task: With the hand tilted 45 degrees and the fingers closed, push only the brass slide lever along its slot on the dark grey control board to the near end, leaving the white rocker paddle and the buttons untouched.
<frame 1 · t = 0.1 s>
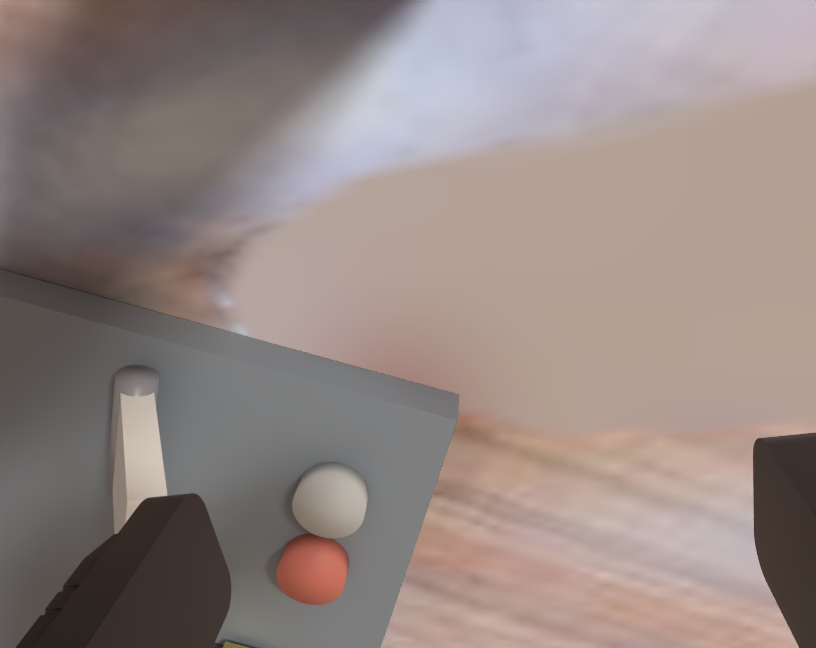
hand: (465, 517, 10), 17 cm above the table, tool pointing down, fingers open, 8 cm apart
rocker paddle: (135, 481, 26), point 6 cm above the table, hinge at -28.0°
control board: (195, 542, 34), on the table
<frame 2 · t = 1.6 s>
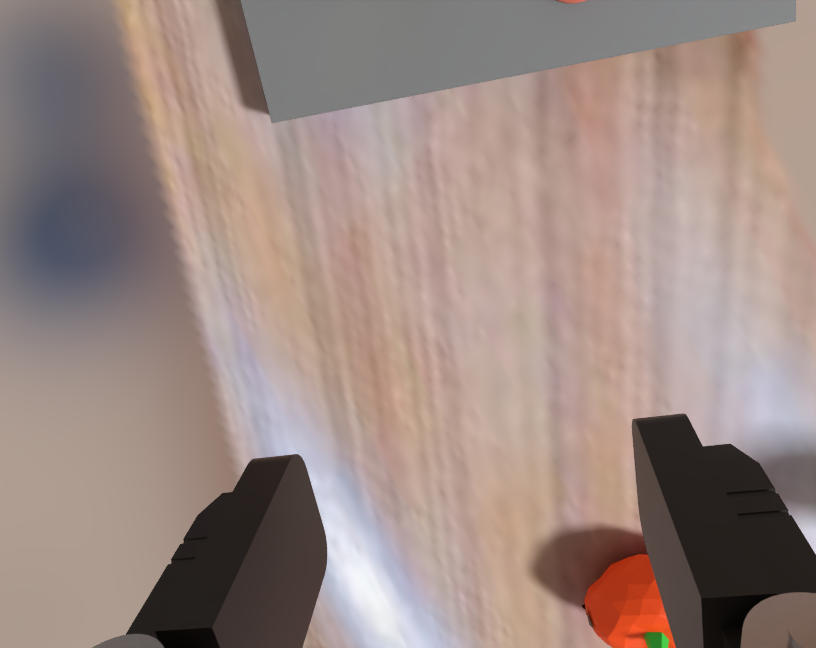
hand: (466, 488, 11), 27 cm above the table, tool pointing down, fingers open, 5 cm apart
pumpkin: (646, 577, 45), on the table
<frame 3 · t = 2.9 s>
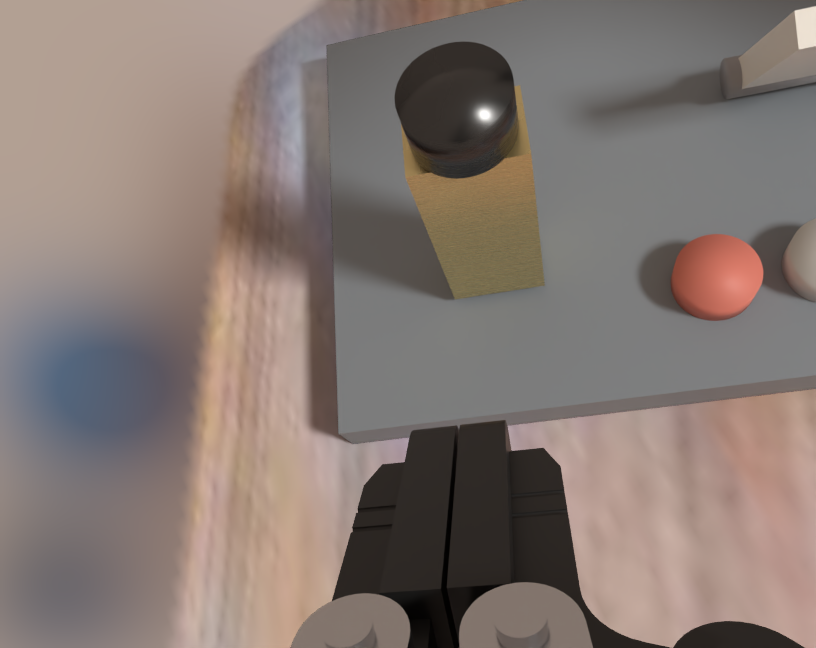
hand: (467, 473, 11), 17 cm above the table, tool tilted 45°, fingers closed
slide lever: (478, 196, 23), point 8 cm above the table, slide at 0.0 cm
control board: (602, 191, 31), on the table
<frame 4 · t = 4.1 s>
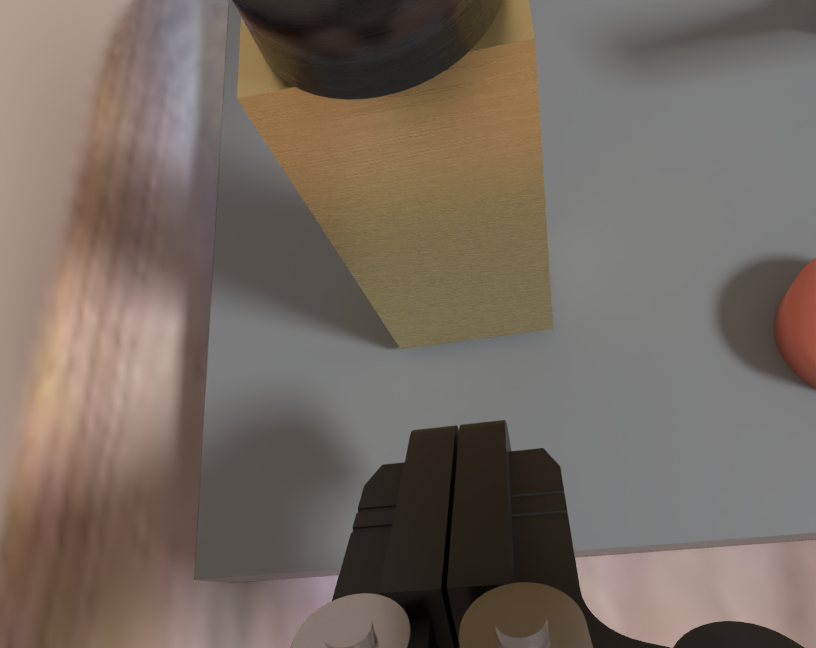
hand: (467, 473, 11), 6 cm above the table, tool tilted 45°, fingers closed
slide lever: (429, 162, 12), point 8 cm above the table, slide at 0.0 cm
control board: (644, 175, 20), on the table
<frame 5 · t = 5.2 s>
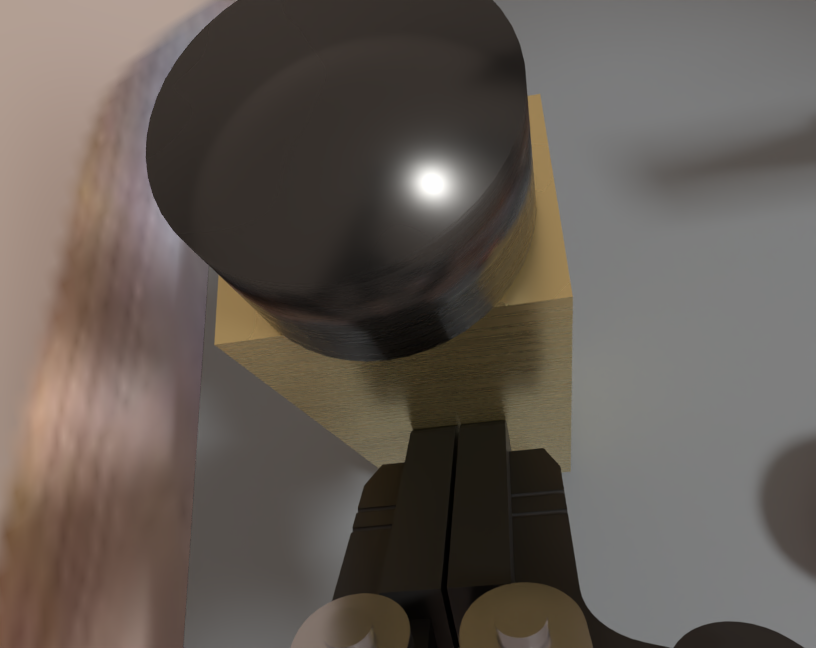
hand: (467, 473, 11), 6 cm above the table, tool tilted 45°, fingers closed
slide lever: (438, 338, 11), point 8 cm above the table, slide at 0.9 cm, touching gripper
control board: (672, 309, 18), on the table
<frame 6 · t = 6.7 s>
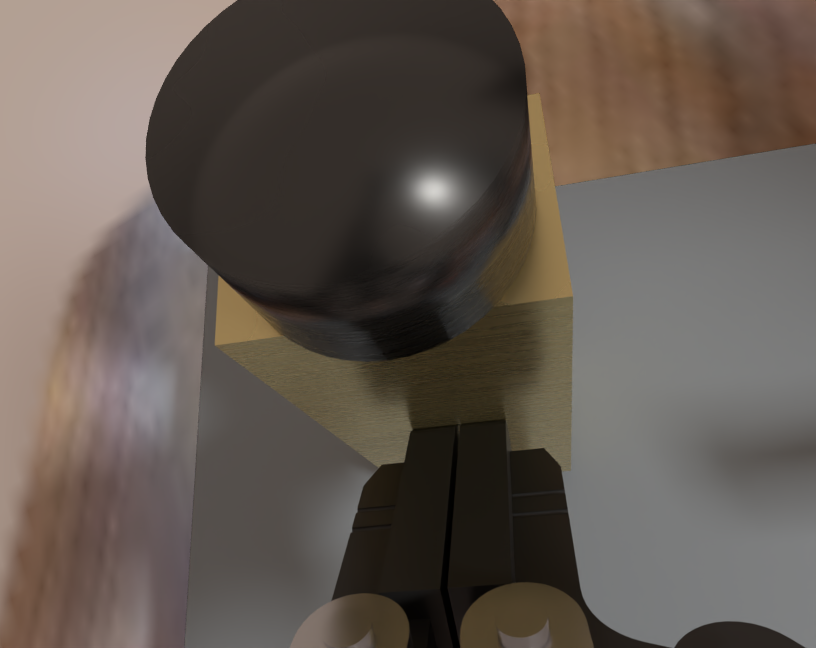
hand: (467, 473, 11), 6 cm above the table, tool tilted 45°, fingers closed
slide lever: (438, 338, 11), point 8 cm above the table, slide at 8.0 cm, touching gripper
control board: (738, 603, 15), on the table
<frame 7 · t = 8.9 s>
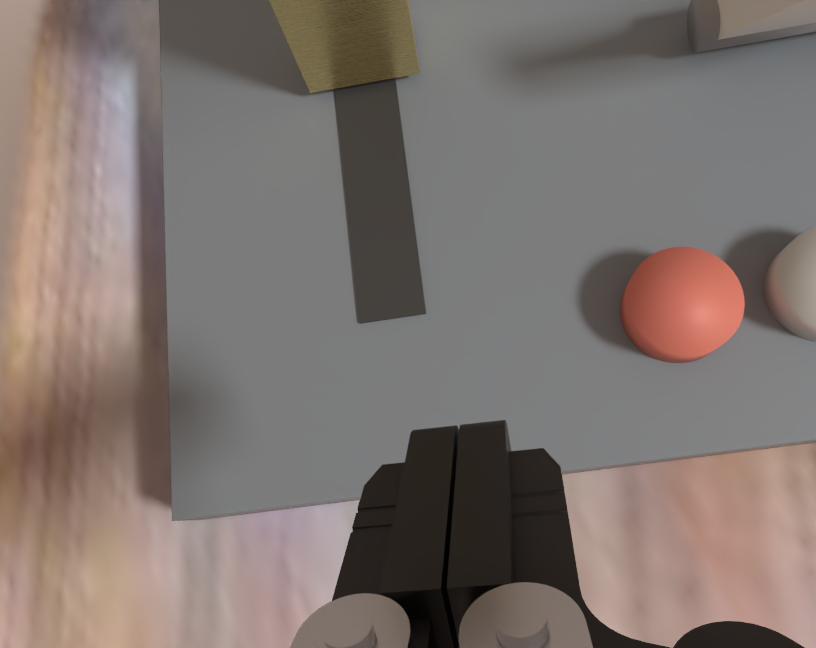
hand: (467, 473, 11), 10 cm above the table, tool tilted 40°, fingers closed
control board: (530, 171, 24), on the table
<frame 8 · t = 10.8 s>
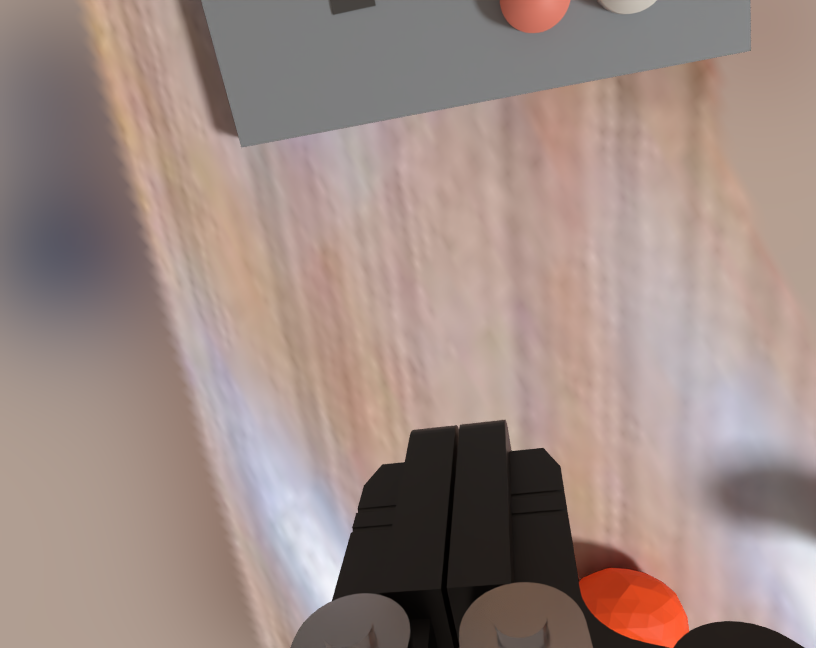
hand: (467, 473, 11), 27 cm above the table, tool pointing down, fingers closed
pumpkin: (618, 590, 46), on the table
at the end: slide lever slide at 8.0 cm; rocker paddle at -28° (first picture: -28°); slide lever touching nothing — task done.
